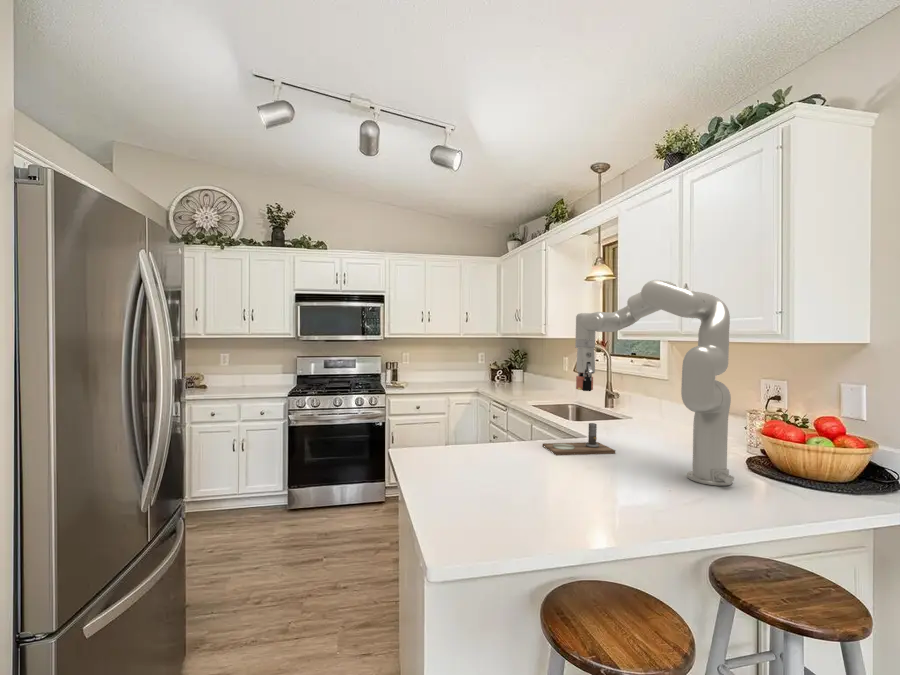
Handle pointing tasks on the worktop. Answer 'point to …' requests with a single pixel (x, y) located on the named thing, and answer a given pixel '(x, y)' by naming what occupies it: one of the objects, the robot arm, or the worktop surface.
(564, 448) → the post board
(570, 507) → the worktop surface
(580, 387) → the cap
